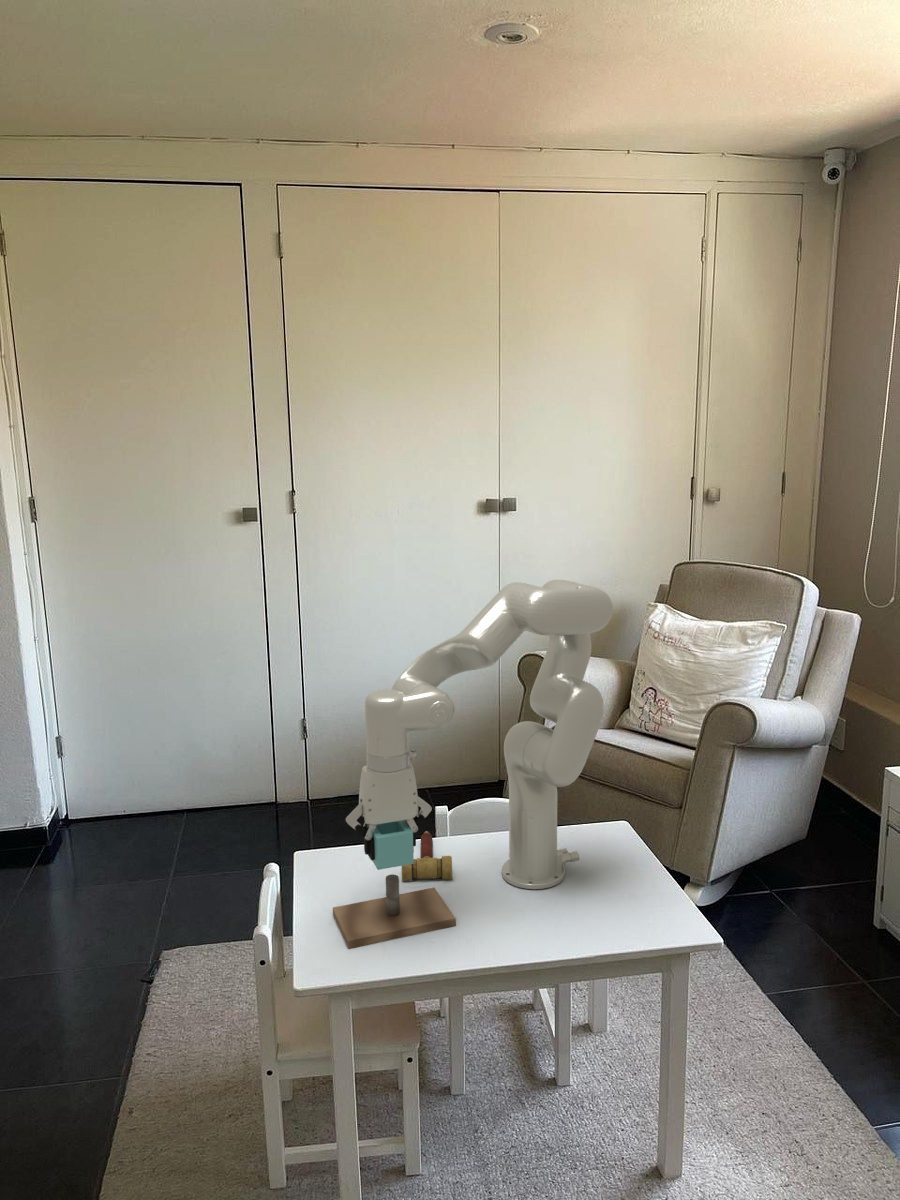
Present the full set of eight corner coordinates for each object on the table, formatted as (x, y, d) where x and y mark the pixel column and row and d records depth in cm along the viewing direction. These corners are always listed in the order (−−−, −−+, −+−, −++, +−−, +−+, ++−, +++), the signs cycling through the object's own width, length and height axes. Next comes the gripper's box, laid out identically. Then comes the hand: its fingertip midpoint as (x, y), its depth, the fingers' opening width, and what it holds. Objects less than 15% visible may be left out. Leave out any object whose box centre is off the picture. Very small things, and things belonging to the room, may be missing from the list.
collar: (402, 847, 172) (401, 817, 171) (413, 863, 166) (412, 832, 165) (368, 853, 170) (367, 823, 169) (377, 869, 164) (377, 838, 162)
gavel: (403, 823, 204) (449, 822, 204) (404, 843, 205) (449, 842, 205) (401, 862, 183) (452, 861, 183) (402, 884, 184) (452, 883, 184)
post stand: (434, 894, 179) (433, 853, 178) (455, 925, 168) (455, 882, 166) (332, 914, 173) (330, 872, 171) (348, 948, 162) (346, 904, 160)
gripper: (427, 746, 171) (429, 837, 174) (335, 759, 165) (338, 852, 168) (441, 760, 164) (442, 854, 167) (345, 774, 158) (348, 871, 161)
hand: (390, 852), depth 168 cm, fingers closed on collar, 6 cm apart
